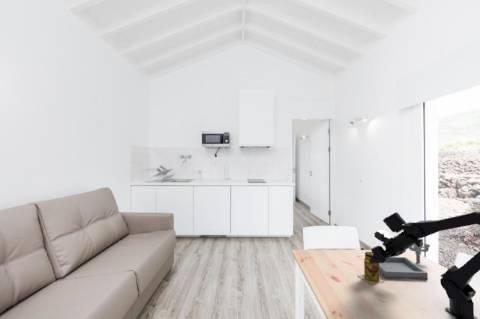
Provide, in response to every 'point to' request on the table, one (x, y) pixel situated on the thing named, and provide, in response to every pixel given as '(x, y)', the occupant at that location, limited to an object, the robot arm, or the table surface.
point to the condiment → (371, 270)
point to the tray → (401, 269)
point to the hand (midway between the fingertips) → (375, 259)
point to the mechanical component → (419, 250)
